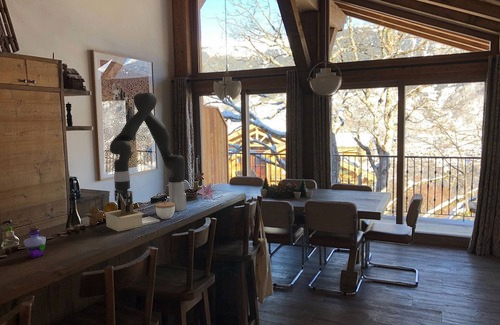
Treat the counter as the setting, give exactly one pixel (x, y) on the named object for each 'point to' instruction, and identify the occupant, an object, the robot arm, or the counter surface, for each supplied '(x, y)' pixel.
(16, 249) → the counter surface
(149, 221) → the grey tile
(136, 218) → the carton
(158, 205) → the lidded jar
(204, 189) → the lily
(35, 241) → the potion bottle
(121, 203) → the wooden block
